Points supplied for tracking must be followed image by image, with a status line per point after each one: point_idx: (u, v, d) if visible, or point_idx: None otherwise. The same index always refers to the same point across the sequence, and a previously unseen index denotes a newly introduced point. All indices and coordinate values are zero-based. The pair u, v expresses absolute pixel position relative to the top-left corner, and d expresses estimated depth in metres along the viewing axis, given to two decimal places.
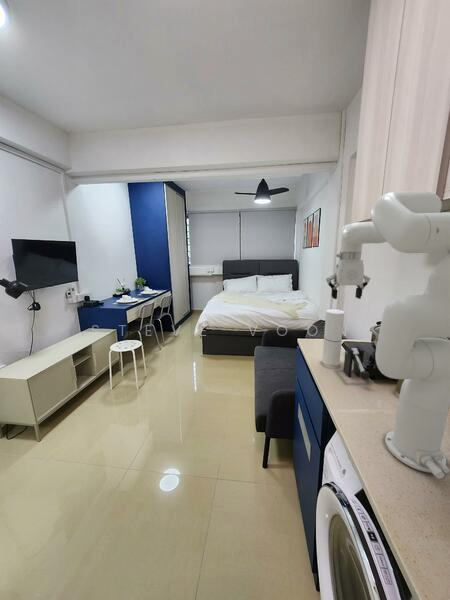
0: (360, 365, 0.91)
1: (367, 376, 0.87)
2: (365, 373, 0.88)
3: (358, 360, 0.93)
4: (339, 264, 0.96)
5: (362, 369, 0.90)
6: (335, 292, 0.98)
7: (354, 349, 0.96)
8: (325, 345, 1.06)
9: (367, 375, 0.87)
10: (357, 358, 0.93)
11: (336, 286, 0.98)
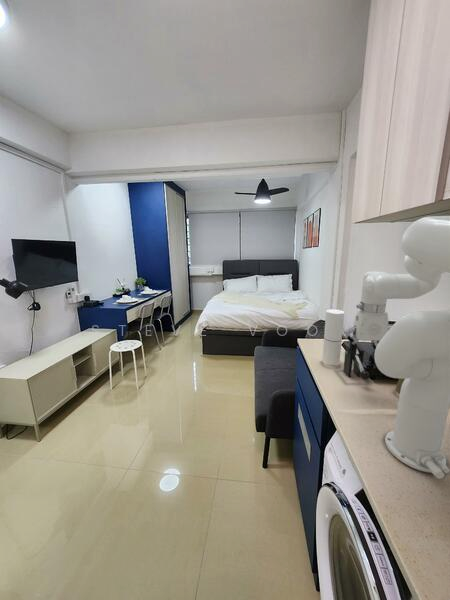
0: (360, 365, 0.91)
1: (367, 376, 0.87)
2: (365, 373, 0.88)
3: (358, 360, 0.93)
4: (360, 317, 0.82)
5: (362, 369, 0.90)
6: (354, 347, 0.85)
7: None
8: (325, 345, 1.06)
9: (367, 375, 0.87)
10: (357, 358, 0.93)
11: (356, 341, 0.85)
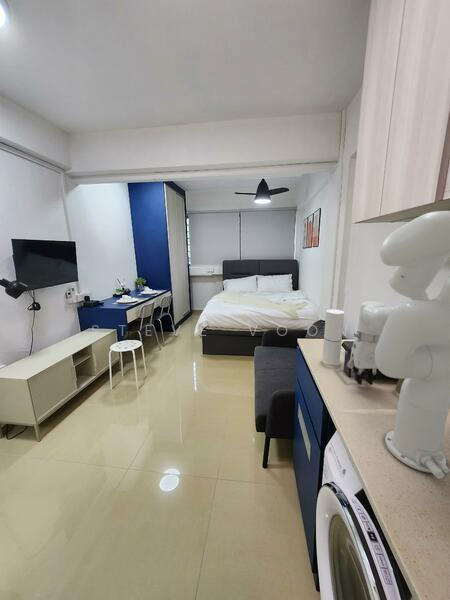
0: None
1: (367, 376, 0.87)
2: (365, 373, 0.88)
3: None
4: (357, 345, 0.84)
5: (362, 369, 0.90)
6: (360, 377, 0.88)
7: None
8: (325, 345, 1.06)
9: (367, 375, 0.87)
10: None
11: (361, 371, 0.87)
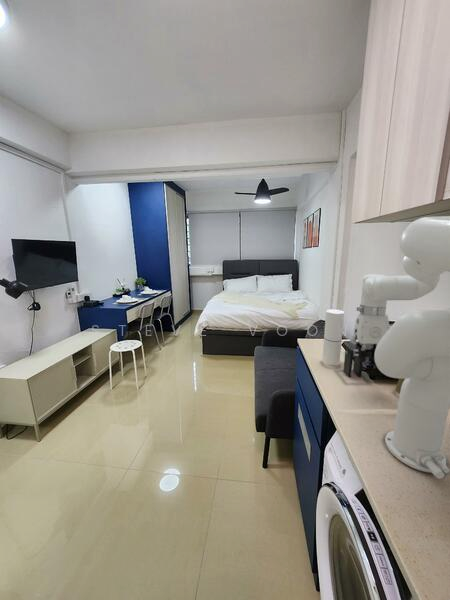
0: None
1: (369, 350, 0.85)
2: None
3: None
4: (360, 319, 0.82)
5: None
6: (363, 354, 0.85)
7: (352, 349, 0.97)
8: (325, 345, 1.06)
9: (369, 349, 0.86)
10: (357, 351, 0.93)
11: None
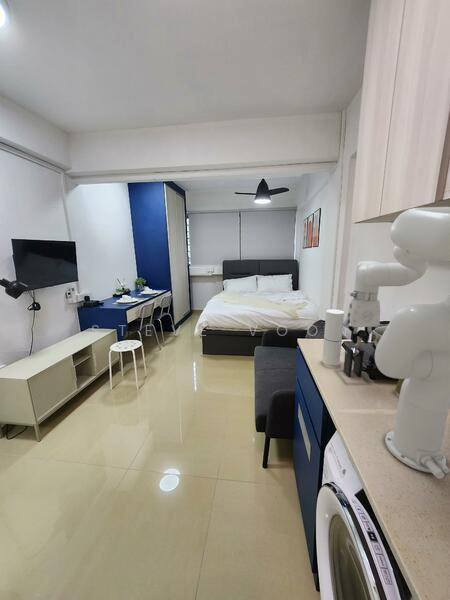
0: None
1: None
2: None
3: None
4: (353, 304, 0.87)
5: None
6: (355, 336, 0.90)
7: None
8: (325, 345, 1.06)
9: None
10: None
11: (356, 330, 0.90)
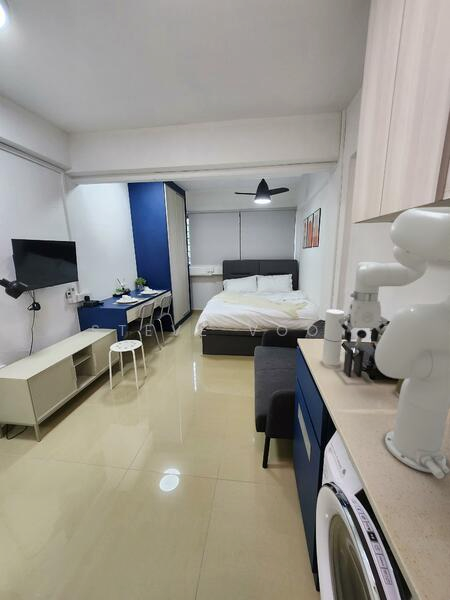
0: None
1: None
2: None
3: None
4: (353, 305, 0.87)
5: None
6: (349, 335, 0.89)
7: None
8: (325, 345, 1.06)
9: None
10: None
11: (350, 328, 0.89)
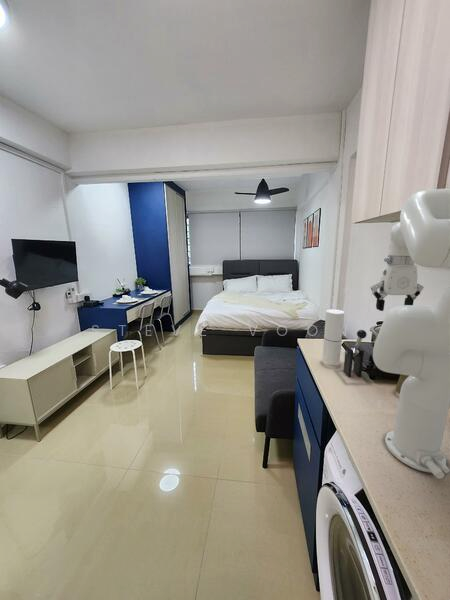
0: None
1: None
2: None
3: None
4: (388, 270, 0.81)
5: None
6: (382, 303, 0.84)
7: None
8: (325, 345, 1.06)
9: None
10: None
11: (383, 296, 0.83)
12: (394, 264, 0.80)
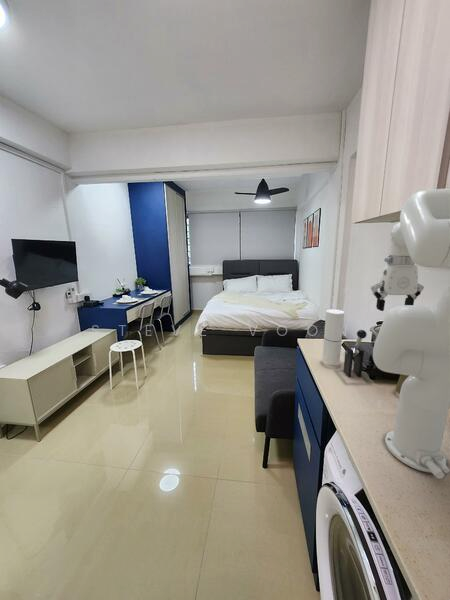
0: None
1: None
2: None
3: None
4: (388, 270, 0.81)
5: None
6: (382, 303, 0.84)
7: None
8: (325, 345, 1.06)
9: None
10: None
11: (383, 296, 0.83)
12: (394, 264, 0.80)
